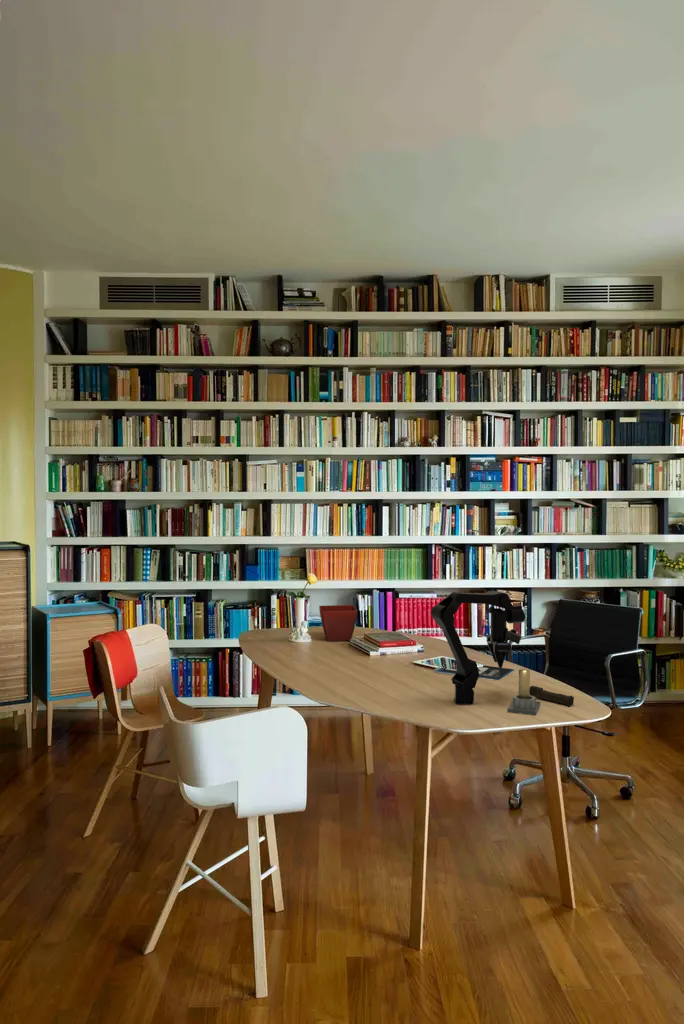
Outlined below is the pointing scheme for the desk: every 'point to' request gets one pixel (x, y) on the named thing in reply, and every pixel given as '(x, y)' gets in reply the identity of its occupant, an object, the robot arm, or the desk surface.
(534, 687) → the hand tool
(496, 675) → the sketchbook
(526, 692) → the brass hinge pin
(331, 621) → the plant pot
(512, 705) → the plate with ring collar
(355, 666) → the desk surface
